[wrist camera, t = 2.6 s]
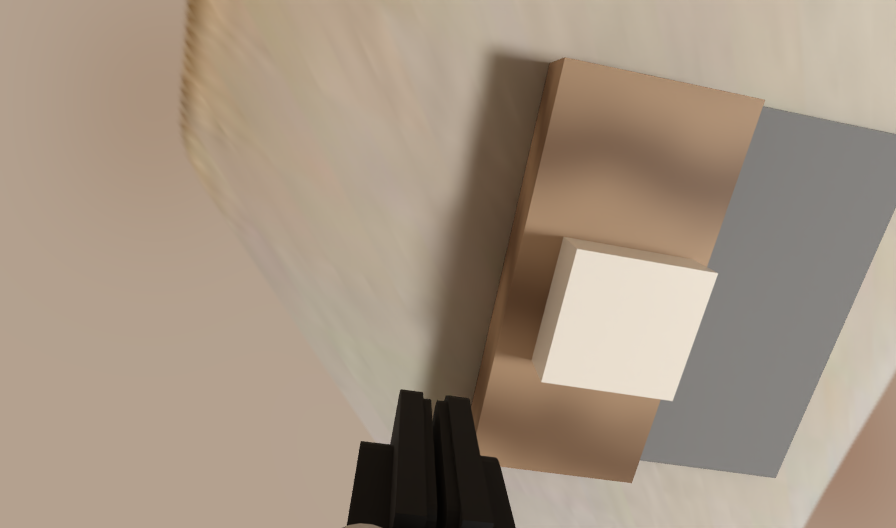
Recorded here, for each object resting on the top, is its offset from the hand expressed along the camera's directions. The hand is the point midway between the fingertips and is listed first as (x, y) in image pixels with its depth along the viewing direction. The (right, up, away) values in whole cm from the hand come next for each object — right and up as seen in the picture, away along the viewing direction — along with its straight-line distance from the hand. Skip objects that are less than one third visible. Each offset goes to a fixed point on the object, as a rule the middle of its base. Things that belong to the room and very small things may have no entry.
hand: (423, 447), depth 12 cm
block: (+8, +2, +11) cm, 14 cm away
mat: (+16, +2, +14) cm, 22 cm away
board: (+7, +4, +13) cm, 16 cm away
